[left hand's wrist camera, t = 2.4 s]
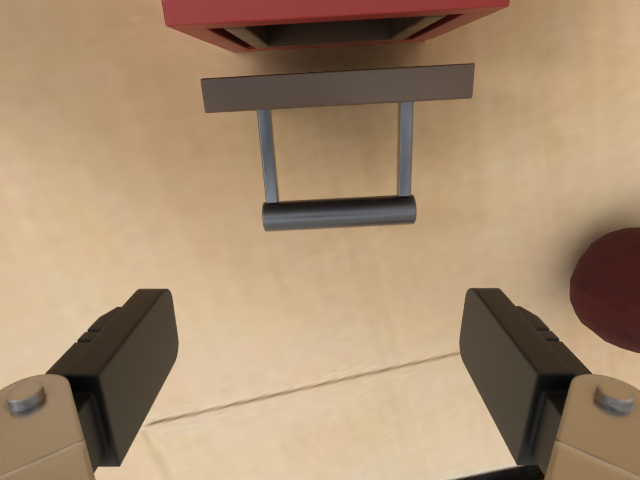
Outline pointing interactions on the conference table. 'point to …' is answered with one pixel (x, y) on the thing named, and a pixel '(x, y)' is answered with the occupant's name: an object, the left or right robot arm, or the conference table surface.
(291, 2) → the cabinet
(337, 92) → the drawer
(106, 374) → the left robot arm
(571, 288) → the dark maroon ball
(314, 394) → the conference table surface
